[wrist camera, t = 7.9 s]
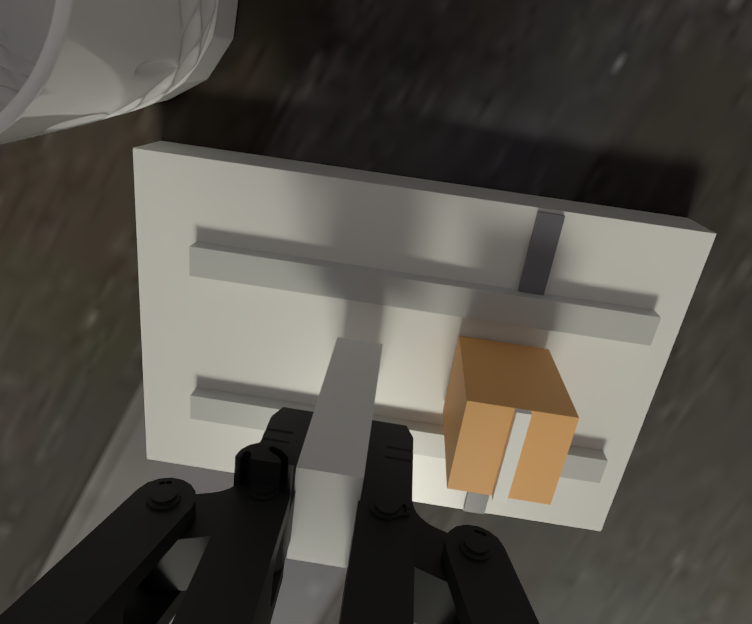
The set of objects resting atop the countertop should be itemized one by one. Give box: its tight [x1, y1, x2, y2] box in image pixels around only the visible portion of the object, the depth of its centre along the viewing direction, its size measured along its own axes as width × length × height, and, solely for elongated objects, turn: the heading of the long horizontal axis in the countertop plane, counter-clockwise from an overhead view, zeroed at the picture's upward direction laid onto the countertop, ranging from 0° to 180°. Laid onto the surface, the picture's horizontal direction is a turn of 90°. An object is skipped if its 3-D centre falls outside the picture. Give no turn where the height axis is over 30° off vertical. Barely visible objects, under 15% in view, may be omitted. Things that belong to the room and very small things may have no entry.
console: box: [133, 141, 716, 531], centre depth 20 cm, size 18×12×3 cm, turn 82°
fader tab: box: [443, 336, 579, 505], centre depth 17 cm, size 3×3×4 cm
